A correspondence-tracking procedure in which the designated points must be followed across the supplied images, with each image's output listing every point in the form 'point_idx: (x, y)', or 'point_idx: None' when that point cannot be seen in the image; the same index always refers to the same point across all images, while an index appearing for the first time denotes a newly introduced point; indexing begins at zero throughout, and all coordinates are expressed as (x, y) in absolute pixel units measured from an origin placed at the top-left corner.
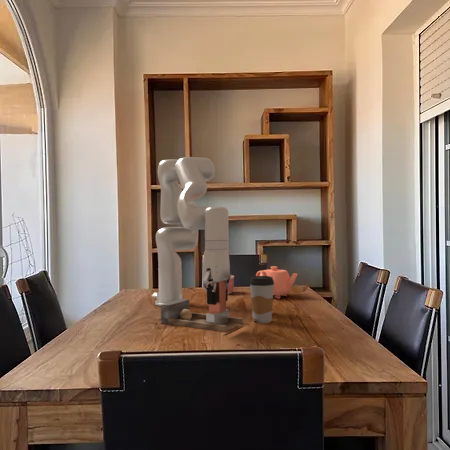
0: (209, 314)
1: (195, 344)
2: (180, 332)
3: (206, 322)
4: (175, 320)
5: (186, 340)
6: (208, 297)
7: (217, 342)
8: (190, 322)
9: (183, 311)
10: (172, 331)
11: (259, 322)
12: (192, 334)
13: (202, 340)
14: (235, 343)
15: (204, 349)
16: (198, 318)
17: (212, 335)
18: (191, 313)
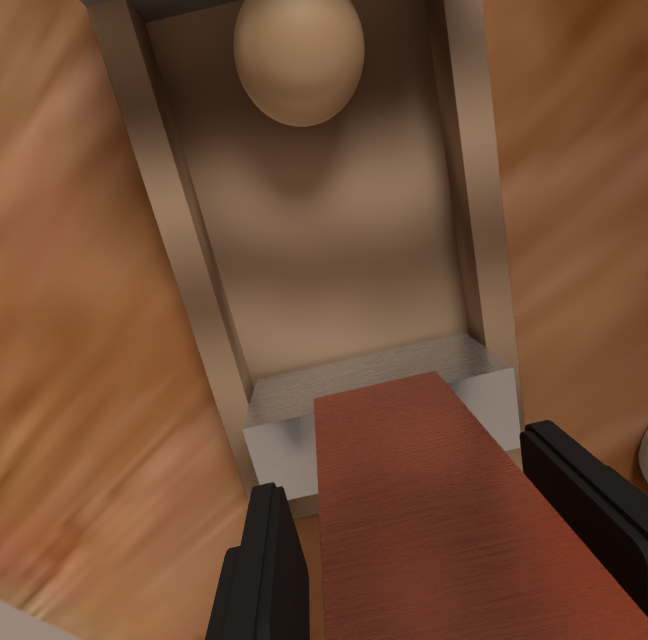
0: (252, 461)
1: (24, 517)
2: (114, 249)
3: (253, 397)
4: (121, 110)
5: (29, 427)
6: (219, 600)
7: (144, 566)
8: (177, 281)
9: (251, 45)
10: (84, 178)
11: (642, 467)
12: (145, 352)
13: (106, 490)
14: (200, 630)
15: (10, 603)
16: (439, 100)
17: (223, 457)
18: (335, 106)
